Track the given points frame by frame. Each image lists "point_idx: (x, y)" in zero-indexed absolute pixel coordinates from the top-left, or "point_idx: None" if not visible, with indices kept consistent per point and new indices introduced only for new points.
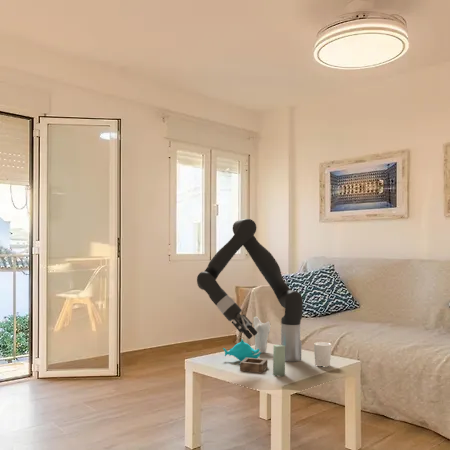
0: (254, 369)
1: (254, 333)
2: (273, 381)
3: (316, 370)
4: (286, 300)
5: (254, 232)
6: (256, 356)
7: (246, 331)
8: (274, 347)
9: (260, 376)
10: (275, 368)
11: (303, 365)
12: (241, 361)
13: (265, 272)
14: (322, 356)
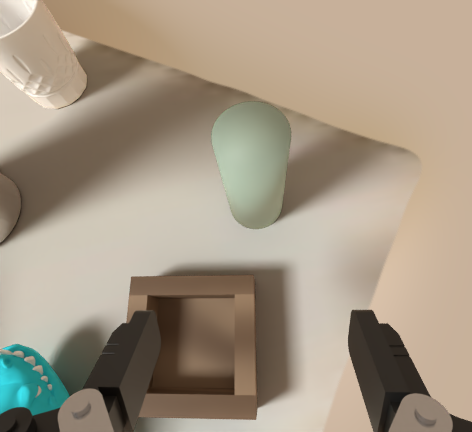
0: (255, 321)
1: (153, 341)
2: (375, 200)
3: (141, 91)
4: None
5: None
6: (48, 364)
7: (422, 385)
8: (280, 160)
9: (323, 272)
10: (281, 202)
11: (74, 146)
12: (231, 416)
13: None
14: (66, 47)
